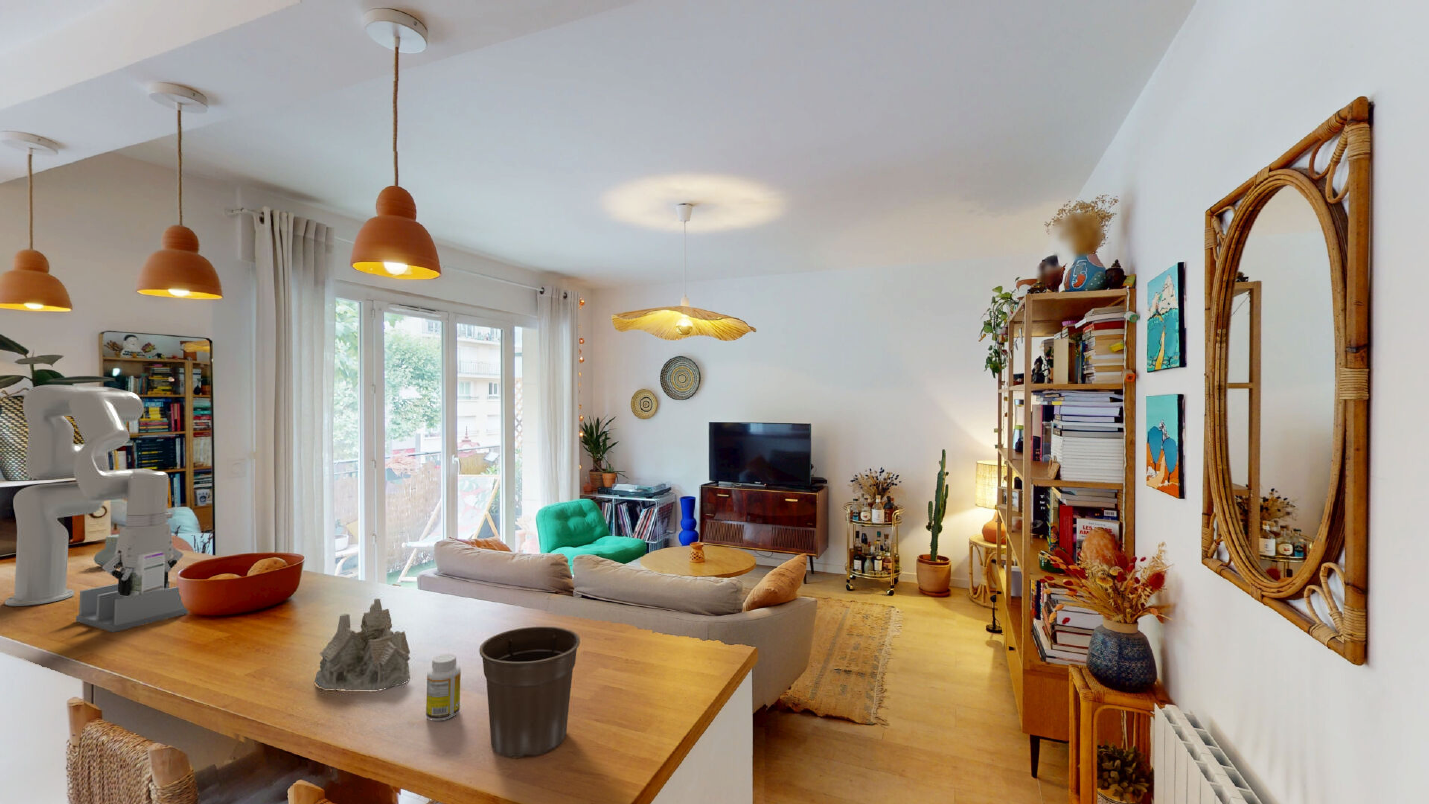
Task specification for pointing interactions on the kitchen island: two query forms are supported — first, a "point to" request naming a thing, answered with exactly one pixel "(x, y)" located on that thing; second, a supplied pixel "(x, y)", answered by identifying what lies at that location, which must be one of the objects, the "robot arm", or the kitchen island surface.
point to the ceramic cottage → (365, 654)
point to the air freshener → (107, 550)
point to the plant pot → (529, 688)
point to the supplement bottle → (443, 688)
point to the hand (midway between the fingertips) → (143, 590)
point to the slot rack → (127, 607)
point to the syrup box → (147, 573)
